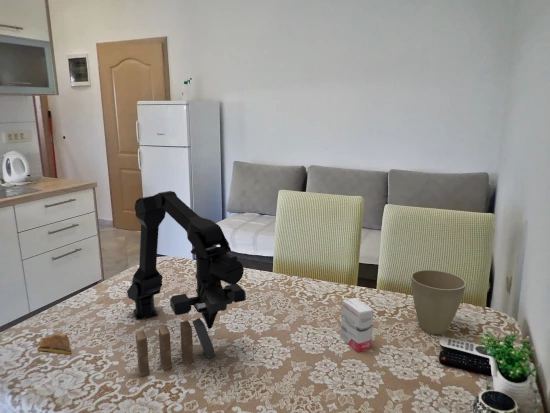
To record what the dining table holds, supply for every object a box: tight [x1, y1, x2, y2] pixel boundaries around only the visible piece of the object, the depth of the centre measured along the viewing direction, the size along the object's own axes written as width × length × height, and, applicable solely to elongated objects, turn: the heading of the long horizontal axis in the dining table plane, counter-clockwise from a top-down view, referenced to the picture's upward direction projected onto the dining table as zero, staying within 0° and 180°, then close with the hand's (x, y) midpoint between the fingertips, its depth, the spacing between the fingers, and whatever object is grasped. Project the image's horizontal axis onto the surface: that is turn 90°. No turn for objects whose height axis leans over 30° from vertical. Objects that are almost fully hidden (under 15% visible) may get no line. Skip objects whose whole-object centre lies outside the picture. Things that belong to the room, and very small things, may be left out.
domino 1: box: [135, 329, 150, 378], centre depth 99 cm, size 2×4×10 cm, turn 27°
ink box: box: [340, 297, 374, 353], centre depth 112 cm, size 8×5×12 cm, turn 26°
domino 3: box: [179, 320, 194, 365], centre depth 104 cm, size 2×4×10 cm, turn 27°
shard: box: [37, 333, 72, 355], centre depth 109 cm, size 11×8×2 cm
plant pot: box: [410, 269, 467, 335], centre depth 120 cm, size 15×15×16 cm
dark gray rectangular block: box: [192, 317, 216, 359], centre depth 106 cm, size 2×4×10 cm, turn 30°
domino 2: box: [158, 324, 173, 371], centre depth 102 cm, size 2×4×10 cm, turn 27°
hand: (209, 328), depth 106 cm, fingers closed
